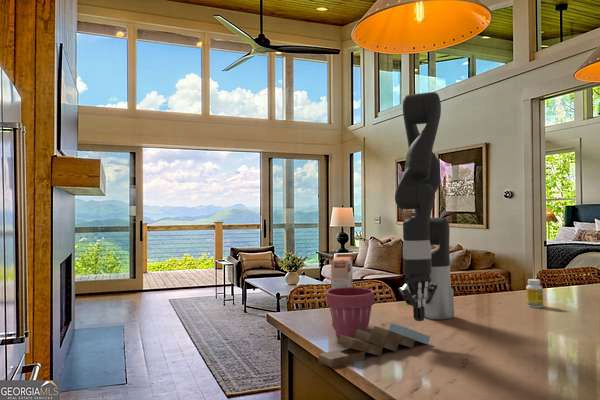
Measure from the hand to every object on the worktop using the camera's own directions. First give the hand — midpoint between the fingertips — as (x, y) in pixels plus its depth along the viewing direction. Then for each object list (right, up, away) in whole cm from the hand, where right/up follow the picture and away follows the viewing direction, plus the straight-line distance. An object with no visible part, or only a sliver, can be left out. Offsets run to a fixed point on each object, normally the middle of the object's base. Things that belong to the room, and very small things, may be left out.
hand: (419, 320), depth 129 cm
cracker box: (-18, -8, +27) cm, 33 cm away
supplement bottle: (+53, -6, +42) cm, 68 cm away
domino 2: (-13, -5, -8) cm, 16 cm away
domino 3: (-9, -5, -5) cm, 12 cm away
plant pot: (-17, -7, +11) cm, 21 cm away
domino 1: (-18, -5, -11) cm, 22 cm away
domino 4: (-4, -5, -3) cm, 7 cm away
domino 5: (+1, -5, 0) cm, 5 cm away
